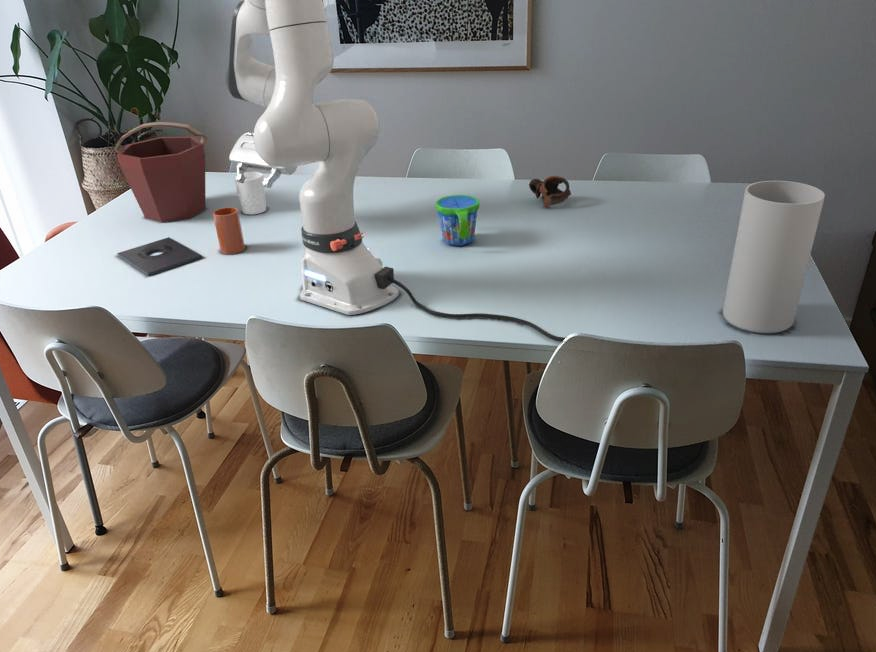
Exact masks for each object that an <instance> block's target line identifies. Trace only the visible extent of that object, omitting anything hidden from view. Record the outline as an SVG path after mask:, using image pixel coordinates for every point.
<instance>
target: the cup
mask: <svg viewBox="0 0 876 652" xmlns="http://www.w3.org/2000/svg"><path fill="white" fill-rule="evenodd" d="M212 216H213V220H214V226H215V232H216V235H217V240H218V245H219V251H220V253H221V254H222V255H235V254H239V253H242V252H243V251H245V249H246V247H245V246H246V245H245V241H244V235H243V230H242V224H241V217H240V213H239V209H238V208H237V207H232V206H228V207H220V208H218V209H215V210H213V212H212Z"/></svg>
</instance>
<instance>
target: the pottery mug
mask: <svg viewBox="0 0 876 652" xmlns="http://www.w3.org/2000/svg"><path fill="white" fill-rule="evenodd" d="M560 184H564V185H565V189H564V190H561V189H560V188H559V186H560ZM528 187H529V189H530V191H531V192H532V193H533V194H534V195H535V197H536V199H539V198H540V197H541V198H542V199H543V202H542V206H543V207H545V208H547V209H548V208H549V207H550V206H554V205H558V204H561V203H564V202H565V200H568V198H569V197H570V196H571V195H572V192H571V189H570V188H571V187H570V183H569V181H568V180H567V179H566V178H564V177H562V176H560V175H550V176H546V178H544V179H543V180H541V179H539V178H531V180H530V181H529V184H528Z"/></svg>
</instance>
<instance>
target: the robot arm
mask: <svg viewBox="0 0 876 652" xmlns="http://www.w3.org/2000/svg"><path fill="white" fill-rule="evenodd" d="M229 35H230V37H229V51H228V63H227V67H226V74H225V86H226V88H227V90H228V92H229V93H230V95H231V96H232V98H234V99H236V100H240V101H244V102H251V103H252V104H254V105H255V104H256V105H259V106H261V107H264V108H266V109H265V110H264V112H263V113H262V114H261V115H260V117H259V118H258V119H257V120H256V123H255V124H254V129H253V132H251V131H246V132H245V133H244V134H241V135H240V137H239V138H238V139H237V140H236V142H235V143H234V146H233V147H232V149H231V151H230V154H229V156H228V159H229V161H230V162H231V163H232V164H233V165H234V166H236V175H237V176H236V175H235V176H236V179H234V181H235V180H236V181H237V182H238V183H244V180H245V179H246V177H244V173H245V172H247V170H248V169H252V170H257V171H263V172H269V173H270V175H269V176H268V177H267V178H263V179H264V182H263V186H264V188H267V189H271V188H272V187H273V184H274V183H275V182H276V181H277V180H278V179H280V177H281V175H288V176H292V175H293V174H294V173H295V172H296V170H297V168H298V167H301V166H304V165H310V164H314V163H319V164H318V167H317V169H316V171H315V173H314V174H313V175H312V176H311V177H310V178H309V179H307V180H306V181H305V182H304V183H303V185H302V186H301V187H300V191H299V195H298V201H299V208H300V215H301V222H302V226H301V229H300V230H301V231H300V232H301V235H300V236H301V240H302V245H303V246H304V251H303V256H302V259H301V278H302V290H301V291H300V293H299V300H300V301H304V302H307V303H309V304H313V305H316V306H319V307H322V308H324V309H328V310H332V311H334V312H337V313H339V314H343V315H347V316H354V315H360V314H361V315H362V314H365V313H368V312H371V311H373V310H376V309H379V308H381V307H383V306H385V305H387V304H389V303H391V302H393V301H394V300H395V299H397V297H398V296H399V294H400V292H399V289H398V288H397V287H399V288H401V289H402V290H403V291H404V292H405V293H406V294H407V296H408V297H409V298H410V300H411V302H412V303H413V304H414V305H415V306H417V307H418V309H420V310H422V311H423V312H426V313H428V314H430V315H435V316H438V317H444V318H449V319H450V318H451V319H466V318H490V319H498V320H507V321H512V322H516V323H519V324H523V325H526V326H529V327H530V328H533V329H534V330H536V331H537V332H538V333H540V334H542V335H543V336H545V337H547V338H549V339H552V340H555V341H557V342H564V341H563V340H564V339H565V338H566V337H564V336H557V335H554V334H551V333H549V332H548V331H546V330H544V329H542V328H541V327H539V325H537V324H535V323H532V322H531V321H528V320H526V319H523V318H519V317H514V316H510V315H503V314H493V313H482V312H481V313H479V312H477V313H475V312H474V313H446V312H440V311H435V310H431V309H429V308H427V307H425V306H424V305H422V304H421V303H420V302H419V301H418V300H416V298H415V297H414V295H413V294H412V292H411V290H409V289H408V288H407V286H405V285H404V284H403V283H401V282H400V281H398V280H396V279H395V273H394V272H395V271H394V267H390V266H389V267H388V266H384V267H383V261H382V259H381V258H380V257H375V256H374V254H372V252H371V251H370V249H369V248H368V247H367V246H366V245H365V244H364V242H363V238H365V236H364V234H365V233H364V232H363V231H361V230H360V227H359V225H358V222H357V221H356V219H355V217H356V216H355V206H354V205H355V204H354V202H355V201H354V187H355V180H356V176H357V174H358V170H359V168H360V166H361V164H362V162H363V160H364V159H365V157H366V156H367V154H368V153H369V152H370V150H371V149H372V148H373V147H375V145H376V143H377V141H378V139H379V136H380V130H381V129H380V127H381V126H380V120H379V116H378V114H377V112H376V110H375V108H374V107H373V106H372V105H371V103H369V102H368V101H367V100H364V99H356V98H341V99H334V100H328V101H322V102H317V103H316V102H315V103H314V101H313V95H314V90H315V88H316V87H317V85H318V84H319V83H321V82H322V81H323V80H325V79H326V78H327V77H328V76H329V75H330V74H331V72H332V69H333V66H334V59H335V58H334V53H333V47H332V43H331V37H330V31H329V25H328V20H327V14H326V10H325V6H324V2H323V0H241V1H239V2H238V4H237V5H236V7H235V9H234V11H233V14H232V18H231V25H230V34H229ZM253 37H270V42H271V47H272V53H273V60H274V66H273V65H270V64H267V63H265V62H262V61H259V60H258V59H255V58H254V57H253V56H252V54H251V53H252V51H251V50H252V43H253V42H252V40H253ZM362 235H363V236H362ZM392 284H394V285H396V286H397V287H395V286H394V285H392Z"/></svg>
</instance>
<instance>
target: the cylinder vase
mask: <svg viewBox="0 0 876 652" xmlns="http://www.w3.org/2000/svg"><path fill="white" fill-rule="evenodd" d="M825 196H826V194H825V192H824V191H823V190H821V189H820V188H817V187H816V186H813V185H810V184H807V183H802V182H796V181H790V180H789V181H788V180H765V181H764V180H763V181H757V182H753V183H751V184H749V185H747V186H746V187H745V191H744V195H743V201H742V206H741V211H740V217H739V222H738V227H737V233H736V238H735V244H734V249H733V253H732V260H731V265H730V269H729V270H730V271H729V276H728V281H727V285H726V291H725V297H724V301H723V302H724V303H723V308H722V315H723V317H724V319H725V321H727V323H729V324H730V325H732V326H733V327H736V328H738V329H740V330H743V331H746V332H751V333H756V334H776V333H780V332H784V331H787V330H789V329H790V328H791V327H792V326H793V325H794V323H795V320H796V315H797V311H798V307H799V303H800V298H801V295H802V291H803V286H804V283H805V279H806V275H807V271H808V266H809V262H810V259H811V254H812V251H813V250H812V249H813V245H814V241H815V239H816V238H815V236H816V233H817V231H818V230H817V229H818V225H819V221H820V217H821V213H822V210H823V205H824V201H825Z"/></svg>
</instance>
